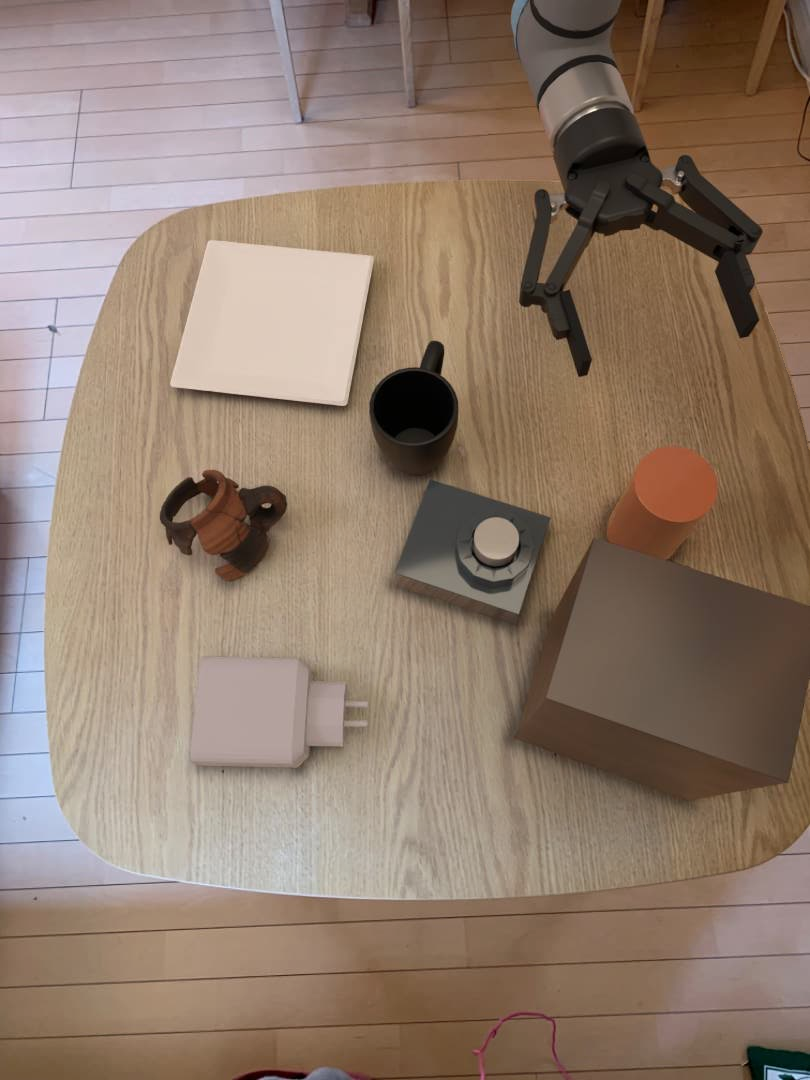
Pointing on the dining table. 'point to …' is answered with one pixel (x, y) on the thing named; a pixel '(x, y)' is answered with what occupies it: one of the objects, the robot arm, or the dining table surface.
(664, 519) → the orange cylinder
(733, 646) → the stand
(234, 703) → the charger
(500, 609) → the gray button box
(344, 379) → the plate
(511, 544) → the round white push button
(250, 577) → the dining table surface
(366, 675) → the dining table surface
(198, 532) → the pottery mug
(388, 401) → the mug
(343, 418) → the dining table surface
